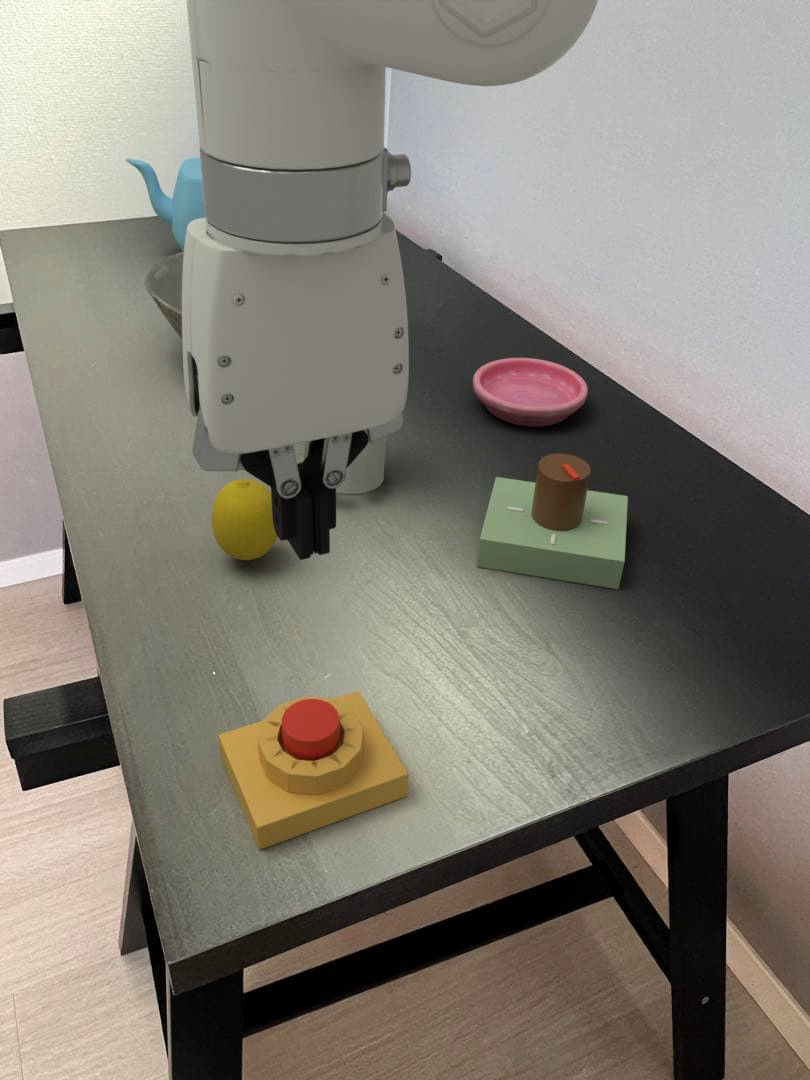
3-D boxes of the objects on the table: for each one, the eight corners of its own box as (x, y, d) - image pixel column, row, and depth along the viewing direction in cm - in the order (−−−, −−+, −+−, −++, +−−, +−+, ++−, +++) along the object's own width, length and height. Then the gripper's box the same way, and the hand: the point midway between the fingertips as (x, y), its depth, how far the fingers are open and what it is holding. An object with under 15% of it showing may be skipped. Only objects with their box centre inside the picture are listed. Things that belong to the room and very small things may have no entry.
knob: (523, 506, 83) (529, 454, 80) (568, 498, 84) (576, 447, 81) (544, 534, 80) (552, 481, 77) (591, 526, 81) (600, 473, 78)
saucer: (548, 374, 111) (552, 349, 109) (605, 424, 102) (610, 398, 100) (452, 390, 107) (454, 364, 105) (503, 443, 98) (506, 416, 96)
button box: (358, 712, 67) (358, 671, 64) (407, 796, 61) (410, 754, 59) (220, 756, 63) (215, 715, 61) (259, 850, 57) (255, 808, 55)
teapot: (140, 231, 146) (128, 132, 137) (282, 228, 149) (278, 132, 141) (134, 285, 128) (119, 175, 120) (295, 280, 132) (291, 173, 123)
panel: (622, 523, 87) (628, 494, 85) (618, 589, 79) (625, 559, 77) (492, 503, 89) (496, 475, 87) (476, 566, 81) (479, 537, 79)
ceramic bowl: (138, 402, 102) (125, 314, 96) (173, 316, 120) (164, 238, 115) (344, 405, 103) (344, 319, 97) (347, 320, 121) (347, 243, 116)
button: (327, 711, 62) (326, 692, 61) (348, 749, 59) (348, 730, 58) (274, 727, 60) (273, 708, 59) (294, 768, 58) (293, 748, 57)
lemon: (292, 567, 80) (288, 488, 75) (230, 586, 77) (222, 506, 73) (266, 533, 83) (261, 455, 79) (206, 550, 81) (197, 471, 76)
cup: (404, 490, 90) (409, 375, 83) (324, 505, 87) (322, 388, 80) (375, 449, 96) (377, 339, 89) (299, 462, 93) (295, 350, 86)
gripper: (413, 156, 45) (400, 479, 56) (95, 184, 40) (148, 536, 51) (491, 201, 40) (460, 549, 51) (135, 241, 34) (186, 621, 45)
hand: (305, 541), depth 51 cm, fingers closed
